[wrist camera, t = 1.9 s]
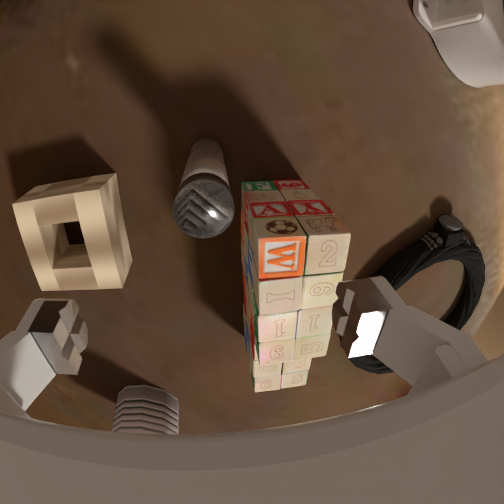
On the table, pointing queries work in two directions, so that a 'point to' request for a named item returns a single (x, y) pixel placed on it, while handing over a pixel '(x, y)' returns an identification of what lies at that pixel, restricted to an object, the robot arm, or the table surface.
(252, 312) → the stack of blocks
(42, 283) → the light wooden square frame
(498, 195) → the table surface
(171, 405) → the can
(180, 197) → the silver metal rod
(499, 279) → the table surface
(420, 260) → the cable lock
